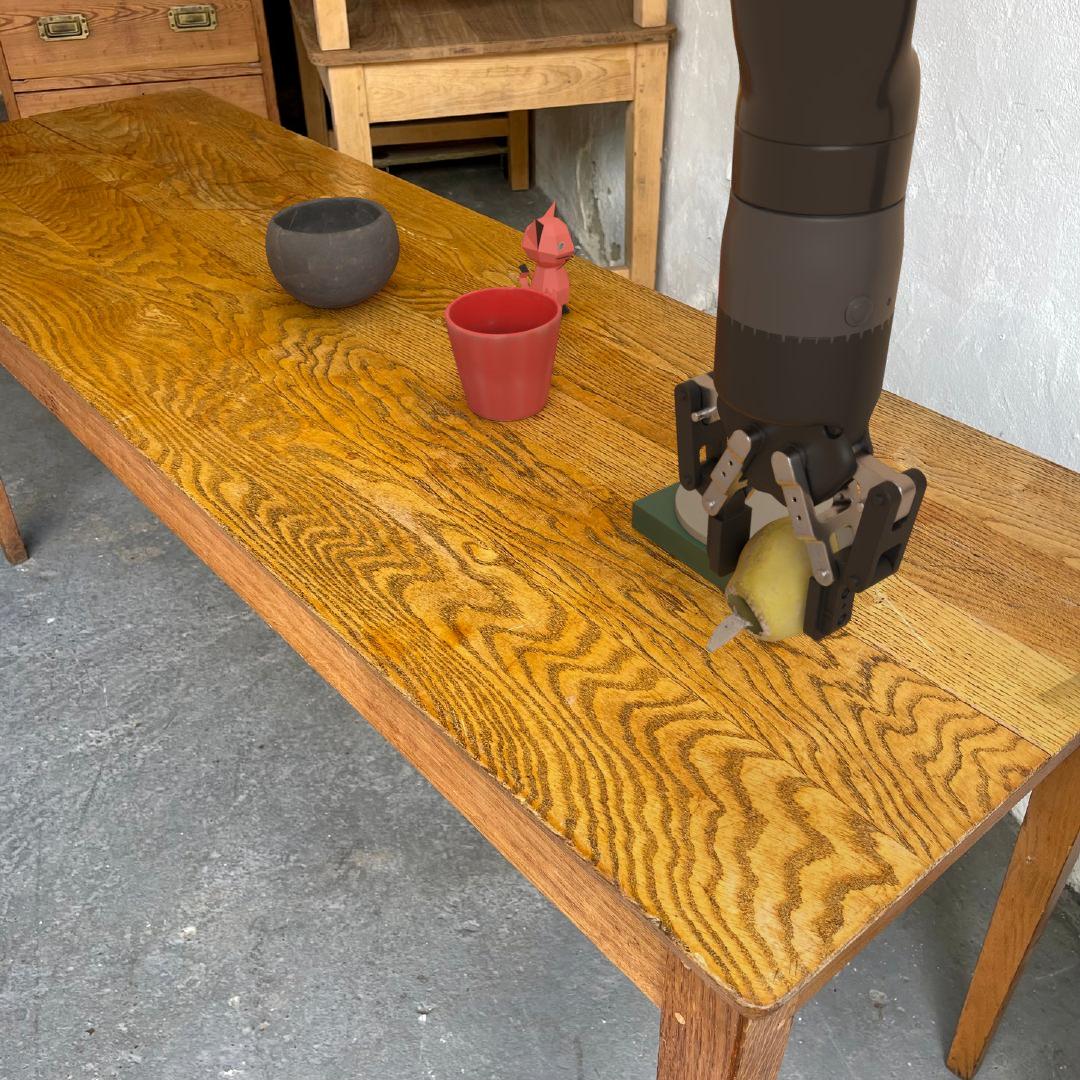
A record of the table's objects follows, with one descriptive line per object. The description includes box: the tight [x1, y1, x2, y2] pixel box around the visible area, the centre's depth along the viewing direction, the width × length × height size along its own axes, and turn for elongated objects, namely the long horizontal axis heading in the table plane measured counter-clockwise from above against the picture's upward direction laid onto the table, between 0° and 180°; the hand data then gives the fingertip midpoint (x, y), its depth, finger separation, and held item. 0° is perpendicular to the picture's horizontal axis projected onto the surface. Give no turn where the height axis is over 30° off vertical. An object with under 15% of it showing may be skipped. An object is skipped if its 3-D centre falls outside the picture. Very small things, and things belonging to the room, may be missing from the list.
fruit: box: [705, 516, 839, 654], centre depth 57 cm, size 6×6×10 cm
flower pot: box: [444, 286, 563, 422], centre depth 104 cm, size 11×11×10 cm
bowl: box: [264, 196, 401, 309], centre depth 126 cm, size 15×15×10 cm
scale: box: [631, 480, 833, 593], centre depth 86 cm, size 15×14×3 cm
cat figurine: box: [518, 200, 579, 315], centre depth 120 cm, size 7×7×12 cm
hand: (773, 597), depth 57 cm, fingers closed on fruit, 6 cm apart
